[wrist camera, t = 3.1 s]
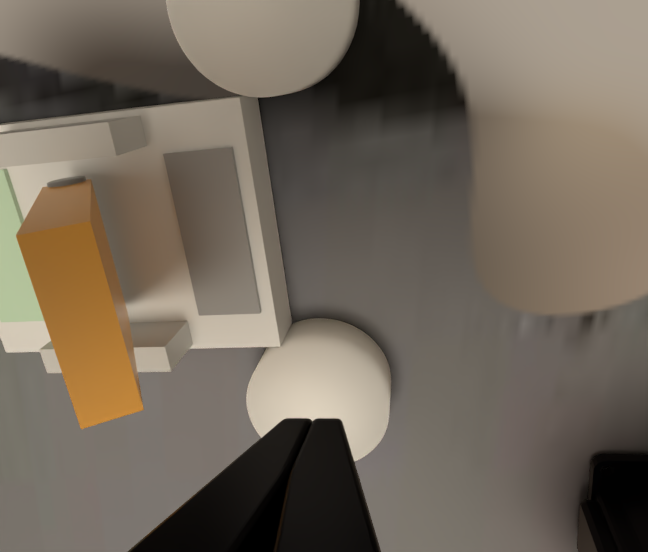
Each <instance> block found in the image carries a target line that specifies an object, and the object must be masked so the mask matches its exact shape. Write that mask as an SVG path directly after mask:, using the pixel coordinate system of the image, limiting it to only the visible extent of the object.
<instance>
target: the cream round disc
mask: <svg viewBox="0 0 648 552" xmlns="http://www.w3.org/2000/svg"><path fill="white" fill-rule="evenodd" d="M166 7H167V13H168V17H169V20H170V24H171V27H172V30H173V32H174V34H175V37H176V40H177V41H178V43H179V45H180V47H181V49H182V50H183V52H184V54H185V55H186V56H187V58H188V59H189V61H190V62H191V63H192V64H193V65H194V66H195V68H196V69H197V70H198V71H199V72H200V73H201V74H203V75H204V76H205V77H206V78H207V79H209V80H210V81H211V82H213V83H214V84H216V85H218V86H219V87H221V88H223V89H225V90H227V91H230V92H233V93H236V94H239V95H243V96H248V97H261V98H263V97H274V96H279V95H285V94H290V93H294V92H299V91H302V90H304V89H307V88H309V87H312V86H313V85H315V84H317V83H319V82H320V81H321V80H323V79H324V78H325V77H327V76H328V75H329V74H330V73H331V72H332V71H333V70H334V69H335V68H336V67H337V66H338V64H339V63H340V62H341V60H342V59H343V57H344V56H345V54H346V52H347V51H348V49H349V47H350V44H351V42H352V40H353V37H354V34H355V31H356V27H357V23H358V17H359V7H360V0H166Z"/></svg>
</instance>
